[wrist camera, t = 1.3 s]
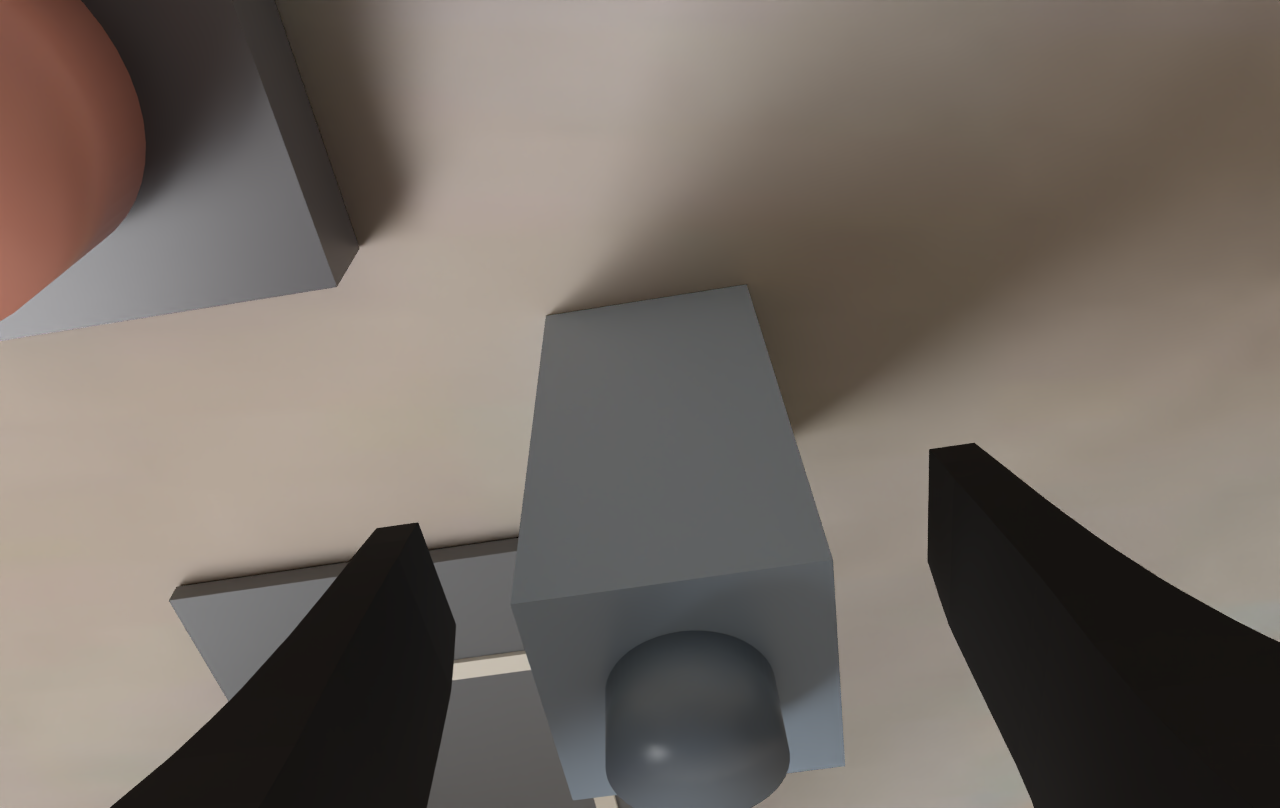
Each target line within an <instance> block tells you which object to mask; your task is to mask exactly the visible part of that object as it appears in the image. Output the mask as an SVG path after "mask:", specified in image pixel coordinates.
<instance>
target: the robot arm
mask: <svg viewBox="0 0 1280 808" xmlns="http://www.w3.org/2000/svg"><path fill="white" fill-rule="evenodd" d="M928 564H929V567H930V570H931V573H932V576H933V579H934V582H935V585H936V588H937V592H938V595H939V598H940V601H941V603H942V606H943V609H944V612H945V615H946V618H947V621H948V624H949V626H950V628H951V630H952V633H953V635H954V637H955V639H956V641H957V643H958V645H959V647H960V650H961V652H962V654H963V656H964V658H965V660H966V662H967V664H968V666H969V668H970V671H971V673H972V675H973V677H974V679H975V681H976V683H977V685H978V687H979V689H980V691H981V693H982V695H983V697H984V699H985V702H986V704H987V706H988V708H989V710H990V712H991V714H992V716H993V718H994V720H995V722H996V724H997V726H998V728H999V730H1000V732H1001V735H1002V737H1003V739H1004V741H1005V743H1006V745H1007V747H1008V749H1009V751H1010V753H1011V755H1012V757H1013V759H1014V761H1015V763H1016V766H1017V768H1018V770H1019V772H1020V775H1021V777H1022V779H1023V782H1024V784H1025V786H1026V789H1027V791H1028V793H1029V795H1030V798H1031V800H1032V803H1033V806H1034V808H1280V642H1278V641H1276V640H1274V639H1271V638H1269V637H1267V636H1265V635H1263V634H1261V633H1259V632H1257V631H1255V630H1253V629H1251V628H1249V627H1247V626H1245V625H1243V624H1241V623H1239V622H1237V621H1235V620H1233V619H1232V618H1230V617H1228V616H1226V615H1224V614H1222V613H1221V612H1219V611H1217V610H1215V609H1213V608H1212V607H1210V606H1208V605H1206V604H1204V603H1203V602H1201V601H1199V600H1197V599H1195V598H1194V597H1192V596H1190V595H1188V594H1186V593H1184V592H1183V591H1181V590H1179V589H1178V588H1176V587H1174V586H1173V585H1171V584H1169V583H1167V582H1166V581H1164V580H1162V579H1161V578H1159V577H1158V576H1156V575H1154V574H1153V573H1151V572H1150V571H1148V570H1147V569H1145V568H1143V567H1142V566H1140V565H1139V564H1137V563H1136V562H1134V561H1133V560H1131V559H1130V558H1128V557H1126V556H1125V555H1123V554H1122V553H1120V552H1119V551H1117V550H1116V549H1114V548H1113V547H1111V546H1110V545H1108V544H1107V543H1105V542H1104V541H1102V540H1101V539H1100V538H1098V537H1097V536H1095V535H1094V534H1092V533H1091V532H1090V531H1088V530H1087V529H1086V528H1084V527H1083V526H1081V525H1080V524H1079V523H1077V522H1076V521H1075V520H1073V519H1072V518H1070V517H1069V516H1068V515H1066V514H1065V513H1064V512H1062V511H1061V510H1060V509H1058V508H1057V507H1056V506H1054V505H1053V504H1052V503H1050V502H1049V501H1048V500H1046V499H1045V498H1044V497H1043V496H1041V495H1040V494H1039V493H1037V492H1036V491H1035V490H1034V489H1032V488H1031V487H1030V486H1028V485H1027V484H1026V483H1025V482H1023V481H1022V480H1021V479H1020V478H1018V477H1017V476H1016V475H1015V474H1013V473H1012V472H1011V471H1010V470H1008V469H1007V468H1006V467H1004V466H1003V465H1002V464H1001V463H999V462H998V461H997V460H996V459H994V458H993V457H992V456H991V455H989V454H988V453H987V452H985V451H984V450H983V449H982V448H980V447H979V446H978V445H976V444H975V443H970V444H963V445H956V446H949V447H942V448H935V449H929V502H928ZM455 636H456V623H455V620H454V617H453V615H452V612H451V609H450V607H449V604H448V601H447V599H446V596H445V593H444V591H443V588H442V585H441V582H440V580H439V577H438V574H437V572H436V569H435V566H434V564H433V561H432V558H431V556H430V553H429V550H428V548H427V545H426V542H425V539H424V537H423V534H422V531H421V529H420V526H419V523H411V524H404V525H397V526H390V527H383V528H377V529H376V530H375V531H374V532H373V533H372V534H371V536H370V537H369V538H368V539H367V540H366V542H365V543H364V544H363V545H362V547H361V548H360V549H359V550H358V551H357V553H356V554H355V555H354V556H353V558H352V559H351V560H350V562H349V563H348V564H347V565H346V567H345V568H344V569H343V570H342V572H341V573H340V574H339V575H338V577H337V578H336V579H335V580H334V582H333V583H332V584H331V585H330V587H329V588H328V589H327V590H326V592H325V593H324V594H323V595H322V596H321V598H320V599H319V600H318V601H317V603H316V604H315V605H314V606H313V607H312V609H311V610H310V611H309V612H308V613H307V615H306V616H305V617H304V618H303V619H302V621H301V622H300V623H299V624H298V626H297V627H296V628H295V629H294V630H293V632H292V633H291V634H290V635H289V636H288V637H287V638H286V640H285V641H284V642H283V643H282V644H281V645H280V646H279V647H278V648H277V649H276V651H275V652H274V653H273V654H272V655H271V656H270V657H269V658H268V659H267V661H266V662H265V663H264V664H263V665H262V666H261V667H260V668H259V669H258V671H257V672H256V673H255V674H254V675H253V676H252V677H251V678H250V679H249V680H248V682H247V683H246V684H245V685H244V686H243V687H242V688H241V689H240V690H239V691H238V692H237V693H236V694H235V695H234V697H233V698H232V699H231V700H230V701H229V702H228V703H227V704H226V705H225V706H224V707H223V708H222V709H221V710H220V711H219V712H218V713H217V714H216V715H215V716H214V717H213V718H212V719H211V720H210V721H208V722H207V723H206V724H205V725H204V726H203V727H202V728H201V729H200V730H199V731H198V732H197V733H196V734H195V735H194V736H193V737H191V738H190V739H189V740H188V741H187V742H186V743H185V744H184V745H183V746H182V747H181V748H180V749H179V750H178V751H176V752H175V753H174V754H173V755H172V756H171V757H170V758H169V759H167V760H166V761H165V762H164V763H163V764H162V765H160V766H159V767H158V768H157V769H156V770H154V771H153V772H152V773H151V774H150V775H148V776H147V777H146V778H145V779H144V780H142V781H141V782H140V783H139V784H138V785H136V786H135V787H134V788H133V789H132V790H130V791H129V792H128V793H127V794H126V795H124V796H123V797H122V798H121V799H120V800H118V801H117V802H116V803H115V804H114V805H112V806H111V807H110V808H427V805H428V800H429V795H430V790H431V786H432V781H433V776H434V772H435V767H436V762H437V758H438V753H439V748H440V744H441V739H442V734H443V729H444V724H445V720H446V715H447V710H448V705H449V700H450V694H451V688H452V677H453V666H454V652H455Z"/></svg>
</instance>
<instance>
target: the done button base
mask: <svg viewBox="0 0 1280 808" xmlns="http://www.w3.org/2000/svg"><path fill="white" fill-rule="evenodd" d="M81 1H82V2H83V3H84V4H85V6H86V7H87V8H88V9H89V11H90V12H91V13H92V14H93V16H94V17H95V18H96V20H97V21H98V22H99V23H100V25H101V26H102V27H103V29H104V30H105V32H106V33H107V35H108V37H109V38H110V40H111V41H112V43H113V44H114V46H115V47H116V49H117V51H118V53H119V55H120V57H121V59H122V61H123V63H124V65H125V67H126V69H127V71H128V72H129V75H130V77H131V80H132V83H133V86H134V88H135V91H136V94H137V96H138V100H139V104H140V108H141V112H142V116H143V121H144V130H145V139H146V155H145V167H144V173H143V178H142V183H141V186H140V189H139V192H138V194H137V197H136V200H135V202H134V204H133V206H132V207H131V209H130V211H129V213H128V214H127V216H126V217H125V219H124V220H123V221H122V222H121V223H120V225H119V226H118V227H117V228H116V230H115V231H113V232H112V233H111V234H110V235H109V236H108V237H106V238H105V239H104V240H103V241H102V242H101V243H99V244H98V245H97V246H96V247H94V248H93V249H92V250H91V251H89V252H88V253H87V254H86V255H85V256H83V257H82V258H81V259H80V260H78V261H77V262H76V263H75V264H73V265H72V266H71V267H70V268H69V269H67V270H66V271H65V272H64V273H62V274H61V275H60V276H59V277H57V278H56V279H55V280H54V281H53V282H51V283H50V284H49V285H48V286H46V287H45V288H44V289H43V290H41V291H40V292H39V293H38V294H37V295H35V296H34V297H33V298H32V299H30V300H29V301H28V302H27V303H25V304H24V305H23V306H22V307H21V308H19V309H18V310H17V311H16V312H14V313H13V314H12V315H10V316H8V317H6V318H5V319H3V320H1V321H0V341H3V340H10V339H16V338H22V337H28V336H34V335H41V334H47V333H53V332H59V331H66V330H72V329H78V328H84V327H90V326H97V325H103V324H109V323H115V322H122V321H128V320H134V319H140V318H146V317H153V316H159V315H165V314H171V313H178V312H184V311H190V310H196V309H202V308H209V307H215V306H221V305H227V304H234V303H240V302H246V301H252V300H258V299H265V298H271V297H277V296H283V295H290V294H296V293H302V292H308V291H314V290H321V289H327V288H333V287H337V286H338V284H339V282H340V281H341V279H342V277H343V276H344V274H345V272H346V270H347V269H348V267H349V265H350V264H351V262H352V260H353V259H354V257H355V255H356V254H357V252H358V250H359V246H358V243H357V240H356V237H355V234H354V231H353V228H352V225H351V222H350V219H349V217H348V214H347V211H346V208H345V205H344V202H343V199H342V196H341V193H340V190H339V187H338V184H337V182H336V179H335V176H334V173H333V170H332V167H331V164H330V161H329V158H328V155H327V152H326V150H325V147H324V144H323V141H322V138H321V135H320V132H319V129H318V126H317V123H316V120H315V117H314V115H313V112H312V109H311V106H310V103H309V100H308V97H307V94H306V91H305V88H304V85H303V82H302V80H301V77H300V74H299V71H298V68H297V65H296V62H295V59H294V56H293V53H292V50H291V48H290V45H289V42H288V39H287V36H286V33H285V30H284V27H283V24H282V21H281V18H280V15H279V13H278V10H277V7H276V4H275V1H274V0H81Z"/></svg>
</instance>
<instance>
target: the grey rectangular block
mask: <svg viewBox="0 0 1280 808" xmlns="http://www.w3.org/2000/svg"><path fill="white" fill-rule="evenodd" d="M510 605H511V608H512V611H513V615H514V618H515V621H516V624H517V627H518V630H519V633H520V636H521V640H522V643H523V646H524V649H525V652H526V655H527V658H528V662H529V665H530V668H531V671H532V674H533V677H534V680H535V683H536V687H537V690H538V693H539V696H540V699H541V702H542V705H543V708H544V712H545V715H546V718H547V721H548V724H549V727H550V730H551V733H552V737H553V740H554V743H555V746H556V749H557V752H558V755H559V758H560V762H561V765H562V768H563V771H564V774H565V777H566V780H567V783H568V787H569V790H570V793H571V796H572V799H573V800H581V799H588V798H596V797H604V796H612V795H618V796H619V797H620V798H621V799H622V800H623V801H625V802H626V803H627V804H629V805H630V806H632V807H633V808H751V807H753V806H755V805H757V804H758V803H760V802H762V801H763V800H764V799H766V798H767V797H768V796H770V795H771V794H772V793H773V792H774V791H775V790H776V789H777V788H778V786H779V785H780V784H781V783H782V781H783V779H784V778H785V776H786V774H787V773H794V772H802V771H810V770H818V769H825V768H833V767H841V766H845V757H844V740H843V723H842V706H841V689H840V672H839V655H838V638H837V622H836V605H835V588H834V571H833V559H832V555H831V552H830V549H829V546H828V543H827V539H826V536H825V533H824V530H823V527H822V523H821V520H820V517H819V514H818V511H817V507H816V504H815V501H814V498H813V495H812V491H811V488H810V485H809V482H808V479H807V476H806V472H805V469H804V466H803V463H802V460H801V456H800V453H799V450H798V447H797V444H796V440H795V437H794V434H793V431H792V428H791V424H790V421H789V418H788V415H787V412H786V408H785V405H784V402H783V399H782V396H781V392H780V389H779V386H778V383H777V380H776V376H775V373H774V370H773V367H772V364H771V361H770V357H769V354H768V351H767V348H766V345H765V341H764V338H763V335H762V332H761V329H760V325H759V322H758V319H757V316H756V313H755V309H754V306H753V303H752V300H751V297H750V293H749V290H748V287H747V284H746V285H739V286H733V287H726V288H720V289H714V290H707V291H701V292H695V293H688V294H682V295H675V296H669V297H663V298H656V299H650V300H644V301H637V302H631V303H624V304H618V305H612V306H605V307H599V308H593V309H586V310H580V311H573V312H567V313H561V314H554V315H548V316H546V320H545V328H544V336H543V344H542V352H541V360H540V368H539V376H538V385H537V393H536V401H535V409H534V417H533V425H532V433H531V441H530V449H529V457H528V465H527V473H526V482H525V490H524V498H523V506H522V514H521V522H520V530H519V538H518V546H517V554H516V562H515V570H514V579H513V587H512V595H511V603H510Z"/></svg>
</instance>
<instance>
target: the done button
mask: <svg viewBox="0 0 1280 808" xmlns="http://www.w3.org/2000/svg"><path fill="white" fill-rule="evenodd" d="M145 155H146V139H145V130H144V121H143V116H142V112H141V108H140V104H139V100H138V96H137V94H136V91H135V88H134V86H133V83H132V80H131V77H130V75H129V72H128V71H127V69H126V67H125V65H124V63H123V61H122V59H121V57H120V55H119V53H118V51H117V49H116V47H115V46H114V44H113V43H112V41H111V40H110V38H109V37H108V35H107V33H106V32H105V30H104V29H103V27H102V26H101V25H100V23H99V22H98V21H97V20H96V18H95V17H94V16H93V14H92V13H91V12H90V11H89V9H88V8H87V7H86V6H85V4H84V3H83V2H82V1H81V0H0V321H1V320H3V319H5V318H6V317H8V316H10V315H12V314H13V313H14V312H16V311H17V310H18V309H19V308H21V307H22V306H23V305H24V304H25V303H27V302H28V301H29V300H30V299H32V298H33V297H34V296H35V295H37V294H38V293H39V292H40V291H41V290H43V289H44V288H45V287H46V286H48V285H49V284H50V283H51V282H53V281H54V280H55V279H56V278H57V277H59V276H60V275H61V274H62V273H64V272H65V271H66V270H67V269H69V268H70V267H71V266H72V265H73V264H75V263H76V262H77V261H78V260H80V259H81V258H82V257H83V256H85V255H86V254H87V253H88V252H89V251H91V250H92V249H93V248H94V247H96V246H97V245H98V244H99V243H101V242H102V241H103V240H104V239H105V238H106V237H108V236H109V235H110V234H111V233H112V232H113V231H115V230H116V228H117V227H118V226H119V225H120V223H121V222H122V221H123V220H124V219H125V217H126V216H127V214H128V213H129V211H130V209H131V207H132V206H133V204H134V202H135V200H136V197H137V194H138V192H139V189H140V186H141V183H142V178H143V173H144V167H145Z"/></svg>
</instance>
